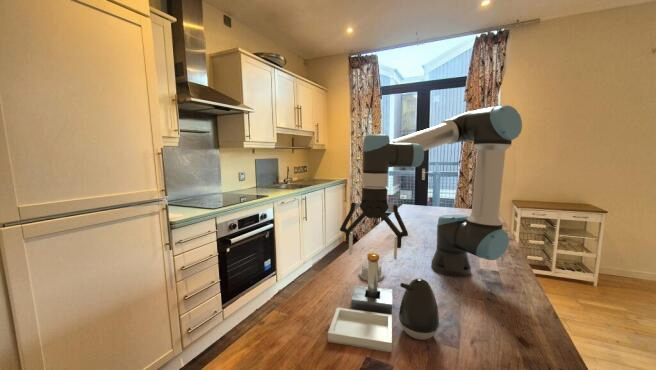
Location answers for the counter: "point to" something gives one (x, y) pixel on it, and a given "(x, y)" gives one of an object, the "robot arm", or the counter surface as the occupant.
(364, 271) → the mechanical component
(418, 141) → the robot arm
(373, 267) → the pin
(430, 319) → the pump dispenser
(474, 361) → the counter surface
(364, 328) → the tray
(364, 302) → the block
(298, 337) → the counter surface
